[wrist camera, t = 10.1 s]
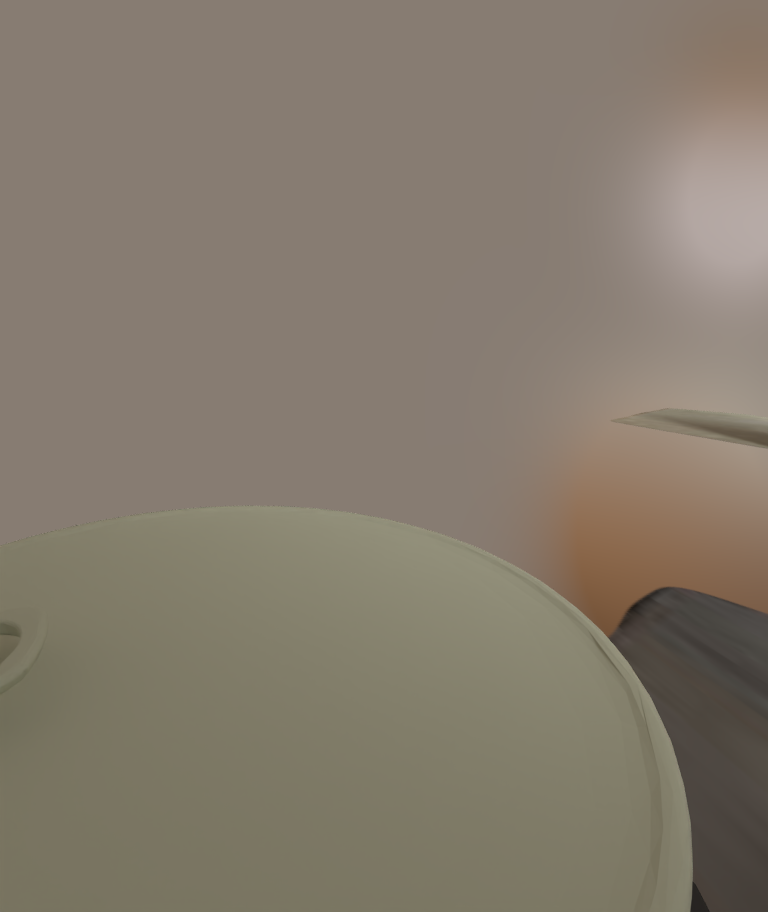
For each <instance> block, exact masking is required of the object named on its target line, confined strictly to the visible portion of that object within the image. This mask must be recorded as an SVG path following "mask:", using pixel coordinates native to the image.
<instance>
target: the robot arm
mask: <svg viewBox="0 0 768 912" xmlns="http://www.w3.org/2000/svg"><path fill="white" fill-rule="evenodd" d="M690 912H709V910H708V908H707V906H706V904H705V902H704V900H703V898H702V896H701V894H700V892H699V890H698V888H697V886H696V884H695V883H694V882H693V881H692V900H691V909H690Z"/></svg>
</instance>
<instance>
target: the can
mask: <svg viewBox="0 0 768 912" xmlns="http://www.w3.org/2000/svg"><path fill="white" fill-rule="evenodd" d="M692 881H693V861H692V842H691V823H690V817H689V811H688V806H687V800H686V795H685V790H684V784H683V781H682V777H681V774H680V770H679V767H678V763H677V760H676V757H675V753H674V750H673V746H672V743H671V740H670V738H669V736H668V734H667V732H666V729H665V727H664V725H663V723H662V721H661V719H660V717H659V714H658V712H657V710H656V708H655V706H654V704H653V702H652V699H651V697H650V696H649V694H648V693H647V691H646V690H645V688H644V686H643V685H642V683H641V682H640V680H639V679H638V677H637V676H636V674H635V673H634V671H633V669H632V668H631V666H630V665H629V663H628V662H627V661H626V659H625V658H624V657H623V656H622V654H621V653H620V652H619V651H618V650H617V648H616V647H615V646H614V645H613V644H612V642H611V641H610V640H609V639H608V638H607V637H606V636H605V634H604V633H603V632H602V631H601V630H600V629H599V628H598V627H597V626H596V625H595V624H593V623H592V622H591V621H590V620H589V619H588V618H587V617H586V616H585V615H584V614H583V613H582V612H581V611H579V610H578V609H577V608H576V607H575V606H574V605H572V604H571V603H570V602H568V601H567V600H566V599H564V598H563V597H562V596H561V595H559V594H558V593H557V592H555V591H554V590H552V589H551V588H550V587H548V586H547V585H546V584H544V583H543V582H541V581H540V580H538V579H537V578H535V577H533V576H531V575H530V574H528V573H526V572H525V571H523V570H521V569H520V568H518V567H516V566H514V565H512V564H511V563H509V562H506V561H504V560H502V559H500V558H498V557H496V556H494V555H492V554H490V553H488V552H486V551H484V550H482V549H479V548H477V547H475V546H472V545H470V544H467V543H464V542H461V541H459V540H456V539H454V538H451V537H448V536H446V535H443V534H440V533H436V532H433V531H430V530H426V529H423V528H419V527H415V526H412V525H408V524H404V523H401V522H397V521H392V520H388V519H383V518H379V517H374V516H367V515H361V514H355V513H349V512H343V511H333V510H325V509H316V508H304V507H289V506H222V507H201V508H189V509H179V510H168V511H160V512H151V513H143V514H136V515H130V516H124V517H118V518H112V519H106V520H100V521H96V522H91V523H86V524H81V525H76V526H72V527H68V528H63V529H60V530H55V531H51V532H47V533H44V534H39V535H35V536H31V537H28V538H25V539H21V540H18V541H14V542H11V543H8V544H4V545H1V546H0V912H690V909H691V900H692Z"/></svg>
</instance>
